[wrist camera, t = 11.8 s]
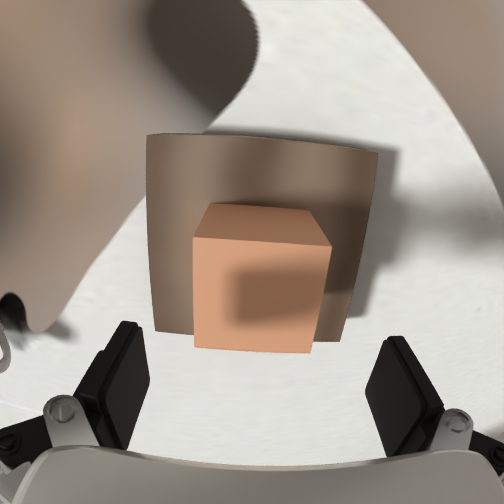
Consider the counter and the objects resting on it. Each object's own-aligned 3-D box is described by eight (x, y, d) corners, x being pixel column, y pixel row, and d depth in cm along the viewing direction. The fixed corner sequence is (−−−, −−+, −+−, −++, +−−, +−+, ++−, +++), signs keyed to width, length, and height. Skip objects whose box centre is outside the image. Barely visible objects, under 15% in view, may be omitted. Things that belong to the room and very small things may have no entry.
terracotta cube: (309, 210, 19) (331, 246, 14) (296, 296, 21) (310, 353, 16) (210, 203, 19) (192, 237, 13) (207, 290, 21) (194, 347, 16)
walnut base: (362, 149, 20) (378, 153, 18) (331, 319, 26) (339, 341, 23) (160, 133, 20) (146, 135, 17) (164, 309, 25) (155, 331, 23)
